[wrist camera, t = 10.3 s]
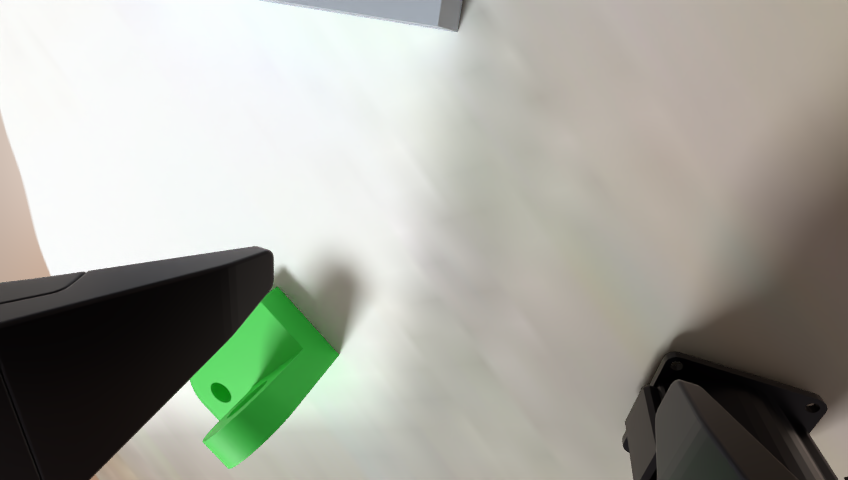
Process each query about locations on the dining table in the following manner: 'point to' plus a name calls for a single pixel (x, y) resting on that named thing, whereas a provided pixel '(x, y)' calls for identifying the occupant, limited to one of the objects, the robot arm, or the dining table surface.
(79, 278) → the robot arm
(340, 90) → the dining table surface
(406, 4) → the socket board
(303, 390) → the mechanical part
